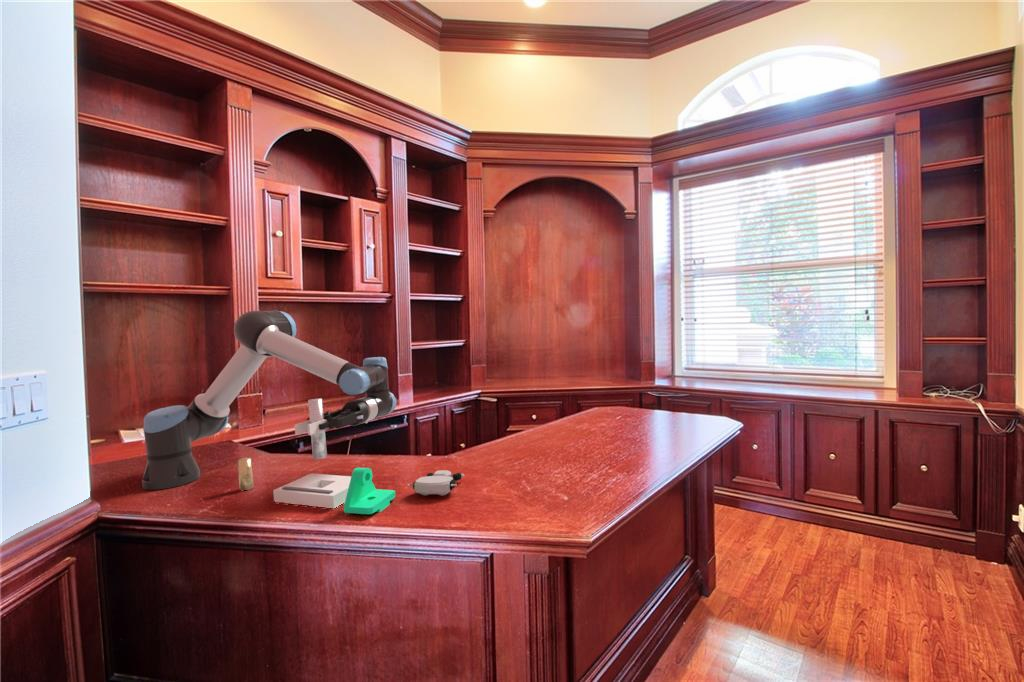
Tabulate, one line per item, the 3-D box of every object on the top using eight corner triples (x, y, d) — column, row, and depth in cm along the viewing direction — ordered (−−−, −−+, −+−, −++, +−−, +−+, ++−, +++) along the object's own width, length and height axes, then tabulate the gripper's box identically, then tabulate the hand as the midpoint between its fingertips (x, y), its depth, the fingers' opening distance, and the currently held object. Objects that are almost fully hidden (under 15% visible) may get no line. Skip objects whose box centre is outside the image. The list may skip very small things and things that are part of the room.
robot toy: (426, 483, 142) (407, 499, 128) (426, 468, 143) (406, 482, 128) (467, 484, 140) (452, 500, 126) (466, 468, 140) (451, 482, 126)
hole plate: (274, 502, 131) (273, 488, 131) (312, 484, 144) (311, 472, 144) (334, 509, 124) (332, 494, 124) (368, 489, 137) (367, 476, 137)
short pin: (242, 487, 145) (239, 458, 145) (255, 486, 146) (252, 456, 146) (238, 492, 142) (235, 461, 141) (251, 490, 143) (249, 460, 142)
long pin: (314, 456, 135) (309, 399, 134) (327, 454, 136) (323, 397, 135) (311, 459, 132) (306, 401, 131) (326, 458, 132) (321, 400, 131)
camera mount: (371, 519, 117) (368, 477, 117) (344, 516, 120) (341, 475, 119) (397, 500, 129) (394, 461, 128) (372, 498, 131) (369, 460, 130)
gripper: (383, 424, 147) (328, 445, 125) (338, 422, 153) (279, 442, 131) (381, 399, 147) (326, 416, 125) (336, 399, 153) (276, 415, 131)
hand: (302, 429), depth 128 cm, fingers closed on long pin, 3 cm apart
